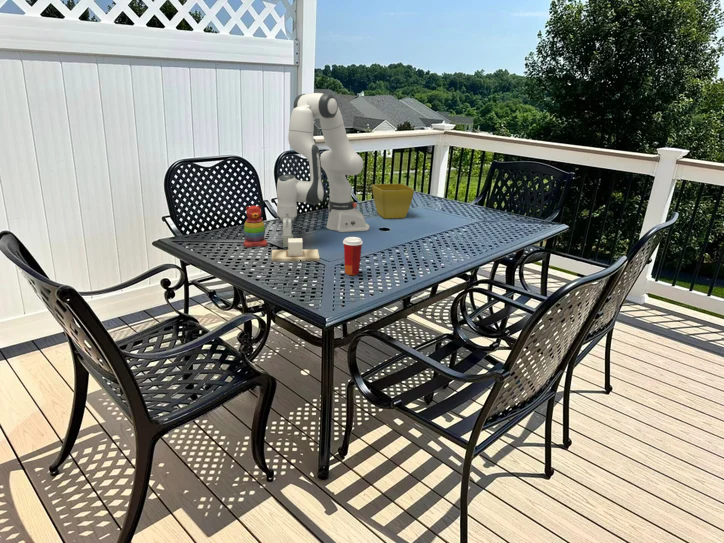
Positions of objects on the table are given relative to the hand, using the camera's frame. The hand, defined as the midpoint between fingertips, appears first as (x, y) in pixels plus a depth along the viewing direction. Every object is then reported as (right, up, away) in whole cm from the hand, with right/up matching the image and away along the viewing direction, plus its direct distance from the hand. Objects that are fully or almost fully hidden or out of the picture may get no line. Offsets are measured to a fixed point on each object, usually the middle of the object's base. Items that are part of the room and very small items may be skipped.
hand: (287, 241), depth 234 cm
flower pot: (+51, +18, +60) cm, 81 cm away
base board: (+5, -7, -13) cm, 15 cm away
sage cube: (0, -2, +1) cm, 2 cm away
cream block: (+5, -6, -13) cm, 15 cm away
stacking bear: (-15, -1, +2) cm, 15 cm away
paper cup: (+30, -14, -29) cm, 44 cm away
